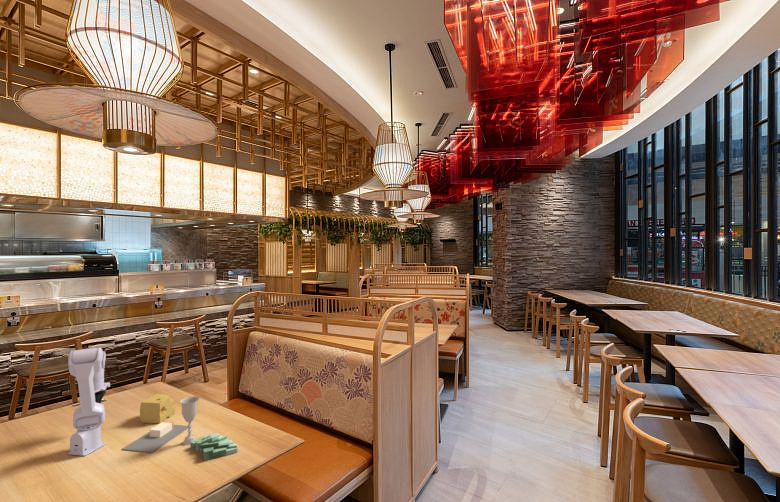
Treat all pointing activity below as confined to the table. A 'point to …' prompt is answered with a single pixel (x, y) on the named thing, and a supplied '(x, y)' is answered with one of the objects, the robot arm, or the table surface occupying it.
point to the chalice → (189, 415)
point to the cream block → (161, 429)
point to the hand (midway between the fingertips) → (95, 408)
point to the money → (213, 446)
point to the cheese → (156, 409)
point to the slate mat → (154, 440)
